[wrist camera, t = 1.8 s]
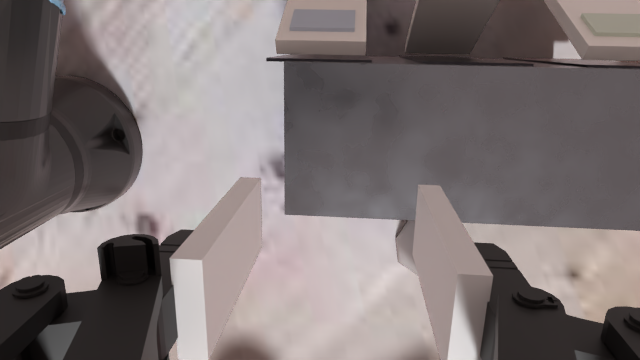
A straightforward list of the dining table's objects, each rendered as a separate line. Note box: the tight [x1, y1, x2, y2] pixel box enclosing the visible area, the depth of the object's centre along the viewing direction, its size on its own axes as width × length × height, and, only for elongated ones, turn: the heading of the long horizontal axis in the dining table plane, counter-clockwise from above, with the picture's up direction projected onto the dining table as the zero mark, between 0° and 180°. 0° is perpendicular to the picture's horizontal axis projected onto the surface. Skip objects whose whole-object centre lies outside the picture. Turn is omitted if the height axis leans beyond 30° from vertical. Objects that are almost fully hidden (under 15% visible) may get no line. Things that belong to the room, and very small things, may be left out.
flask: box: [396, 220, 418, 276], centre depth 47 cm, size 7×7×10 cm
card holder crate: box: [267, 54, 640, 231], centre depth 38 cm, size 10×27×20 cm, turn 89°
